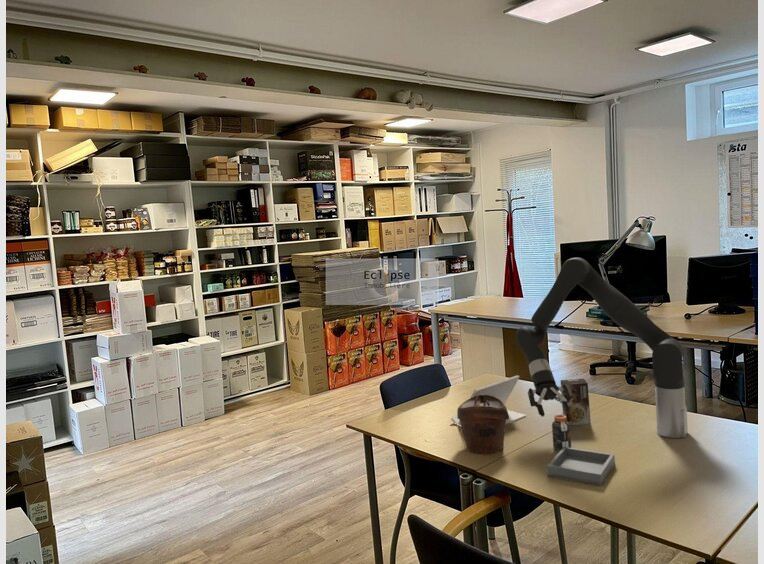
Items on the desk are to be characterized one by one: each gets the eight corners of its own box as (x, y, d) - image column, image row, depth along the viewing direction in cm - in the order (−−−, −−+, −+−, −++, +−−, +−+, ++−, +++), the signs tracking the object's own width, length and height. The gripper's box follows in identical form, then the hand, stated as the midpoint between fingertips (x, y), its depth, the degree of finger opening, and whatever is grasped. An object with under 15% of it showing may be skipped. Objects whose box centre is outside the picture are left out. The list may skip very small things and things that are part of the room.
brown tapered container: (491, 432, 218) (487, 386, 216) (522, 450, 199) (518, 400, 197) (449, 443, 212) (445, 396, 210) (477, 462, 193) (472, 411, 191)
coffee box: (586, 418, 223) (584, 378, 222) (591, 424, 217) (588, 382, 216) (562, 419, 224) (560, 379, 223) (566, 425, 218) (563, 384, 216)
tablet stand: (526, 417, 232) (523, 375, 230) (483, 434, 218) (479, 390, 216) (493, 408, 247) (490, 369, 245) (450, 424, 232) (447, 382, 231)
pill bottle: (572, 451, 195) (570, 418, 193) (554, 451, 196) (552, 419, 195) (570, 444, 200) (568, 412, 199) (552, 444, 202) (550, 413, 200)
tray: (615, 464, 181) (614, 454, 181) (601, 486, 168) (600, 474, 168) (564, 456, 191) (563, 446, 190) (547, 476, 178) (547, 465, 177)
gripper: (524, 371, 209) (537, 411, 198) (562, 366, 210) (577, 407, 199) (520, 381, 215) (533, 421, 204) (558, 377, 215) (572, 416, 205)
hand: (555, 414), depth 202 cm, fingers open, 8 cm apart
